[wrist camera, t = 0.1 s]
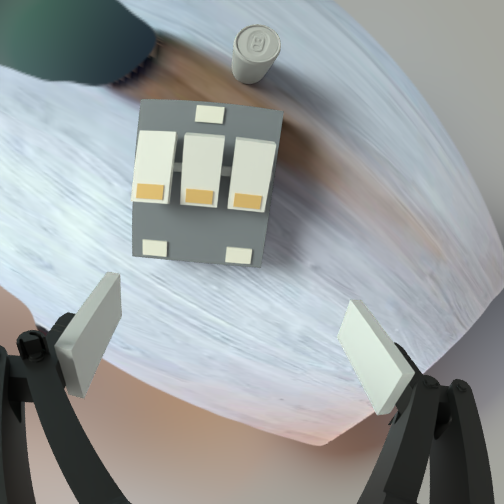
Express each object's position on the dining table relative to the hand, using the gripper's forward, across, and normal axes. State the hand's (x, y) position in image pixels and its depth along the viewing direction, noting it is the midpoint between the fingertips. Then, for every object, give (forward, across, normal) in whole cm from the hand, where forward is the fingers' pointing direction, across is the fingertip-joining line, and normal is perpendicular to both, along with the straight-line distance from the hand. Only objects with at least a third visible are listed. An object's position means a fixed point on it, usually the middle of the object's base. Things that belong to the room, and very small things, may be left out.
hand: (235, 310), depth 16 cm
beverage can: (+28, 0, +20) cm, 34 cm away
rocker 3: (+19, +2, +5) cm, 20 cm away
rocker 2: (+19, -4, +5) cm, 20 cm away
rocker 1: (+19, -9, +5) cm, 22 cm away
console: (+28, -4, +3) cm, 28 cm away
